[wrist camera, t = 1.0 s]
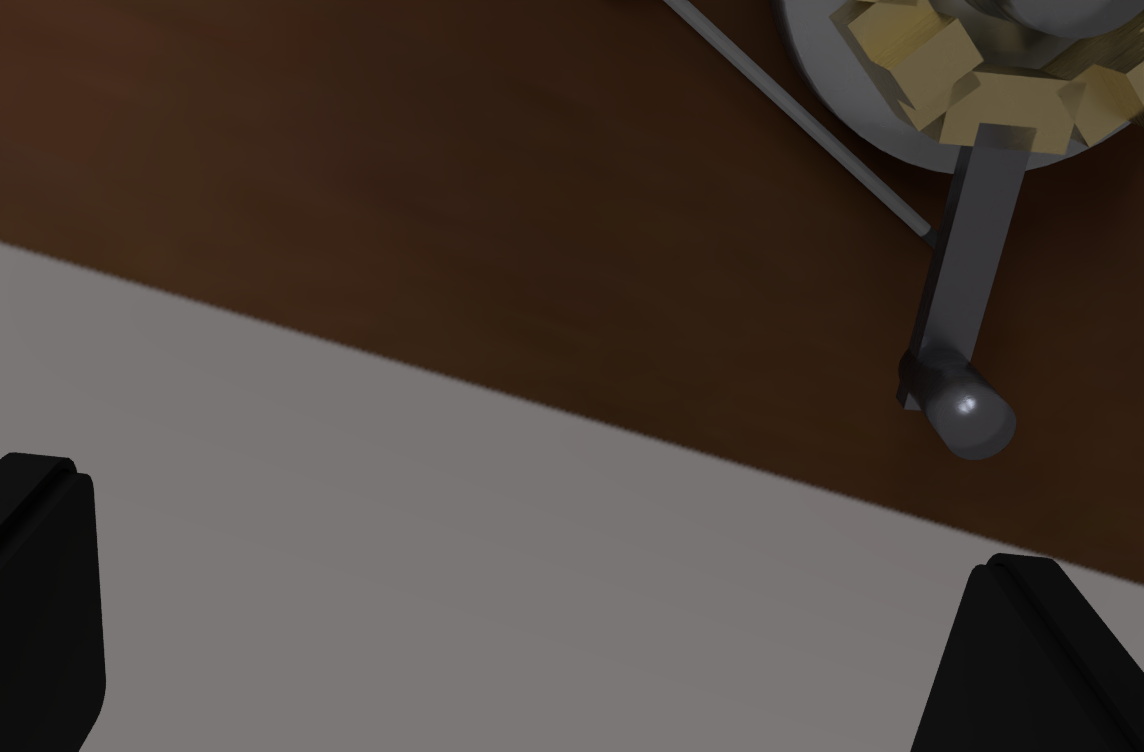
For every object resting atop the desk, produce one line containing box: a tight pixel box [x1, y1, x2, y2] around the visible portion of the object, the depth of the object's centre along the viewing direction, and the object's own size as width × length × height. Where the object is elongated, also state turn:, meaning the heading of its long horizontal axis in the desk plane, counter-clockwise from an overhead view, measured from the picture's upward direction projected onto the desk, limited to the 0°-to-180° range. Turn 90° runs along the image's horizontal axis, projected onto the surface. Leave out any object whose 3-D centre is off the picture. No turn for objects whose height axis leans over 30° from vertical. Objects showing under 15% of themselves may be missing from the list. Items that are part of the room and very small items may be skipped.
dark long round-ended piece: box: [828, 0, 1144, 460], centre depth 34 cm, size 23×13×6 cm, turn 174°
